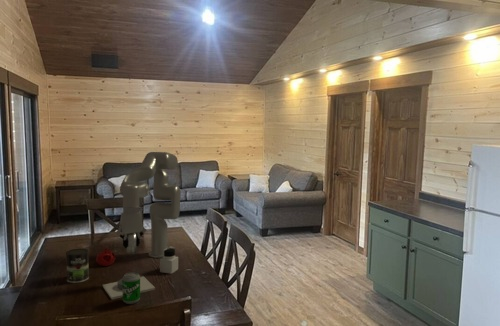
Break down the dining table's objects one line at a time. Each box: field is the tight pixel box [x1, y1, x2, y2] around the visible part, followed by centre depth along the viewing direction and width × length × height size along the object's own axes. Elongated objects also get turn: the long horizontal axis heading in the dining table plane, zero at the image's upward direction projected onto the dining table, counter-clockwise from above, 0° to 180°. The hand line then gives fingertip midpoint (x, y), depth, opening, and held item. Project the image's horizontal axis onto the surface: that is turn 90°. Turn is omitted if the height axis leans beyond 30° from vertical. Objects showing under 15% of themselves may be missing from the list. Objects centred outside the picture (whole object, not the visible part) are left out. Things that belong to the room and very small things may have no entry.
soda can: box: [121, 271, 141, 305], centre depth 172 cm, size 8×8×12 cm
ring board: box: [102, 275, 156, 300], centre depth 186 cm, size 20×16×4 cm
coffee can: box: [65, 248, 90, 284], centre depth 195 cm, size 10×10×14 cm
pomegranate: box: [95, 247, 116, 267], centre depth 216 cm, size 10×10×9 cm
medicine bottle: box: [159, 248, 179, 275], centre depth 209 cm, size 7×7×12 cm
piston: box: [125, 233, 138, 254], centre depth 191 cm, size 5×5×9 cm
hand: (131, 246), depth 191 cm, fingers closed on piston, 5 cm apart
